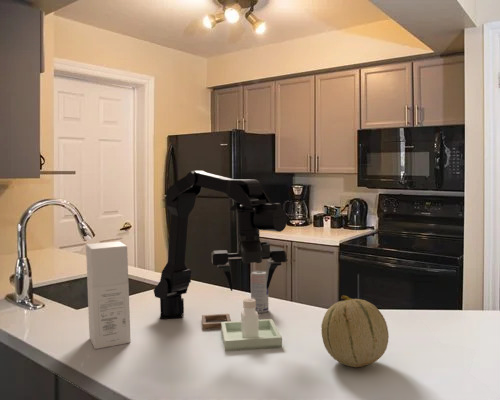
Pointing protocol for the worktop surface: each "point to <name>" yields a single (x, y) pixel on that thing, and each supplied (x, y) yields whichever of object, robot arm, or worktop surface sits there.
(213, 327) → the holder
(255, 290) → the energy drink
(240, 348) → the tray
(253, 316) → the salt shaker
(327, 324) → the cantaloupe
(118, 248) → the tall white carton
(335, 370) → the worktop surface
